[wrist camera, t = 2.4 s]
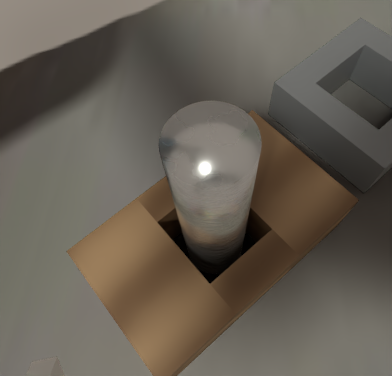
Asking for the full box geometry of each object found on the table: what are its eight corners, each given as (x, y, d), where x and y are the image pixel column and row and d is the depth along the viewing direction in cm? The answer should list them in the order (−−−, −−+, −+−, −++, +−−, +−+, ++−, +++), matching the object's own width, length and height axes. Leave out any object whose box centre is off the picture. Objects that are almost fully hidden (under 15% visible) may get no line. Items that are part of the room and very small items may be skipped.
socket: (268, 113, 40) (274, 82, 36) (346, 53, 43) (360, 17, 39) (363, 193, 35) (384, 168, 31) (443, 119, 38) (473, 86, 34)
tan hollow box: (91, 269, 34) (66, 251, 28) (247, 145, 38) (252, 110, 33) (171, 381, 29) (160, 385, 24) (337, 225, 34) (359, 200, 29)
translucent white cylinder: (177, 245, 34) (138, 138, 18) (216, 212, 35) (214, 85, 19) (212, 285, 32) (204, 208, 16) (253, 249, 33) (283, 144, 17)
